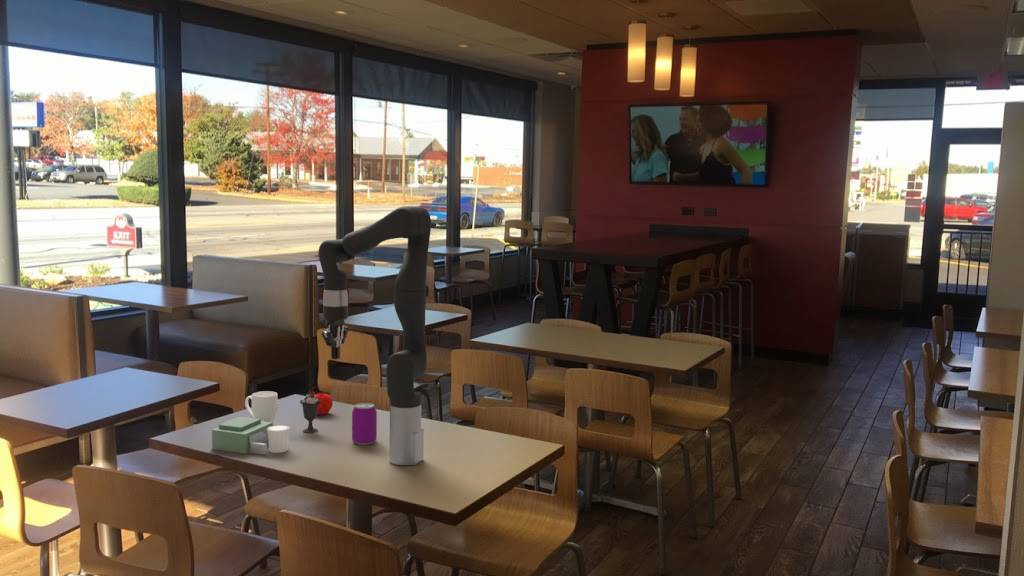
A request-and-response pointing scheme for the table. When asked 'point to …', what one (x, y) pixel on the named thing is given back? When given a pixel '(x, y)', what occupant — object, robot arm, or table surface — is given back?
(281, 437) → the white cup
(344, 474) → the table surface
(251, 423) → the green drawer box
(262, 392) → the mug
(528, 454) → the table surface
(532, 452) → the table surface
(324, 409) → the apple
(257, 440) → the chute bracket
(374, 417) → the beverage can
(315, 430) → the sundae
